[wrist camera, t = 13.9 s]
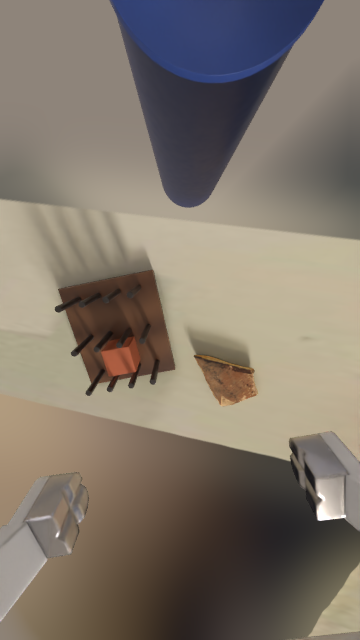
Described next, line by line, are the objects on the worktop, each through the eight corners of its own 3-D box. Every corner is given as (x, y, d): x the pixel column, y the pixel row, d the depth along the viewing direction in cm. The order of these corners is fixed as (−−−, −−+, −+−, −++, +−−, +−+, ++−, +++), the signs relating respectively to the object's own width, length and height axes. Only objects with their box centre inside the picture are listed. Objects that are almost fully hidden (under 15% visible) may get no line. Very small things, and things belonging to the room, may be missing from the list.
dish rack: (61, 288, 34) (32, 297, 27) (153, 269, 33) (146, 274, 26) (93, 381, 38) (75, 408, 32) (175, 366, 38) (174, 391, 31)
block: (109, 340, 35) (100, 351, 31) (134, 336, 35) (128, 346, 31) (116, 363, 36) (108, 376, 33) (140, 359, 36) (136, 372, 32)
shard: (192, 351, 37) (193, 356, 35) (237, 332, 36) (240, 336, 34) (219, 403, 40) (220, 410, 38) (260, 386, 39) (264, 393, 37)
